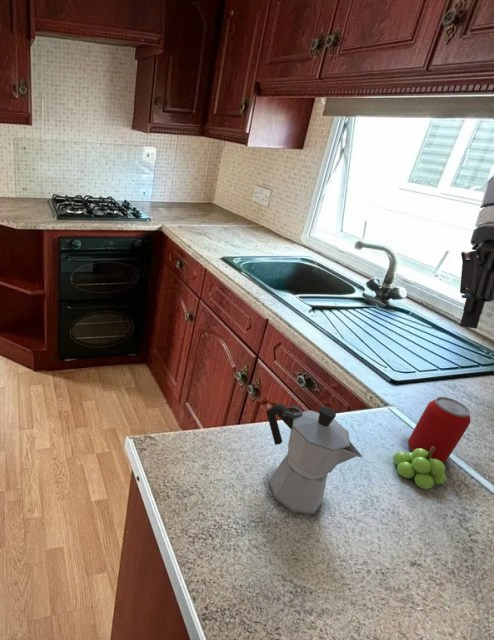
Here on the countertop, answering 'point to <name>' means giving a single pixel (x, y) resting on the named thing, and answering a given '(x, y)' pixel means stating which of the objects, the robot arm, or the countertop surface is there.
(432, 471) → the grape bunch
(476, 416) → the countertop surface
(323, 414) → the coffee maker
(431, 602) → the countertop surface
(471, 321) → the robot arm
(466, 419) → the beverage can
